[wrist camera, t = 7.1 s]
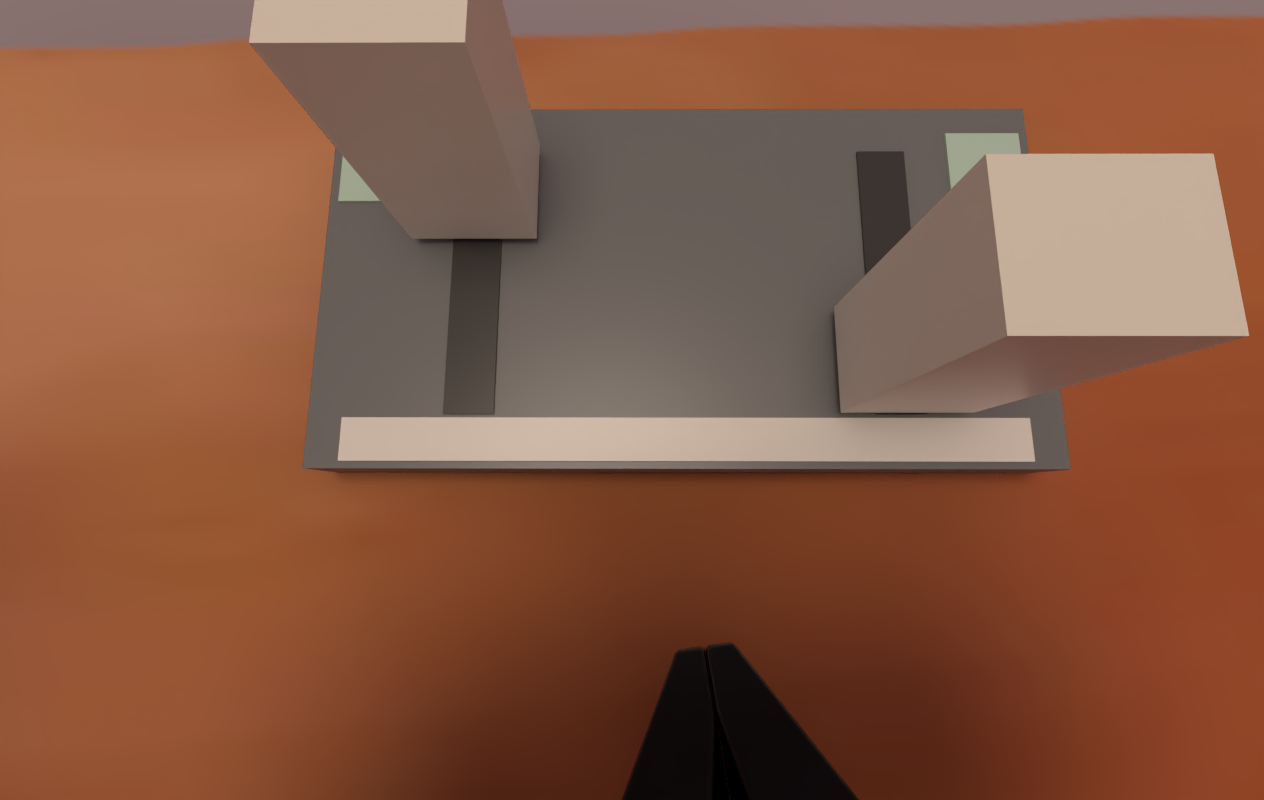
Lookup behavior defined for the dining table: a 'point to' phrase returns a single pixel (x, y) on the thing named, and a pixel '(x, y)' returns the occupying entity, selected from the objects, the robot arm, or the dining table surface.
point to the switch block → (654, 306)
